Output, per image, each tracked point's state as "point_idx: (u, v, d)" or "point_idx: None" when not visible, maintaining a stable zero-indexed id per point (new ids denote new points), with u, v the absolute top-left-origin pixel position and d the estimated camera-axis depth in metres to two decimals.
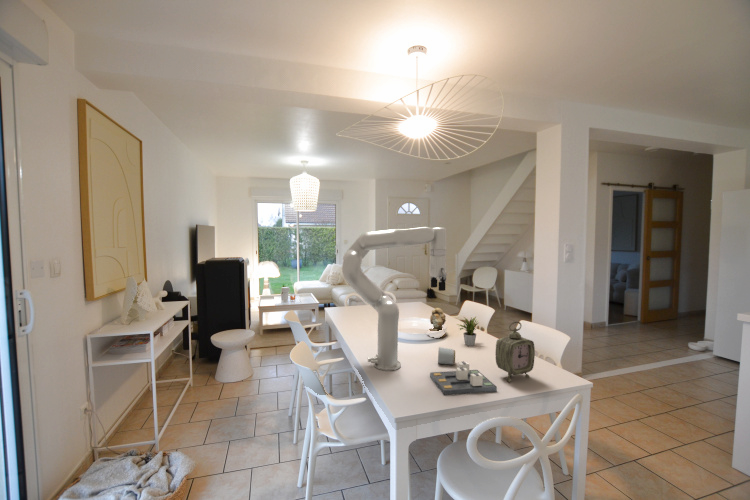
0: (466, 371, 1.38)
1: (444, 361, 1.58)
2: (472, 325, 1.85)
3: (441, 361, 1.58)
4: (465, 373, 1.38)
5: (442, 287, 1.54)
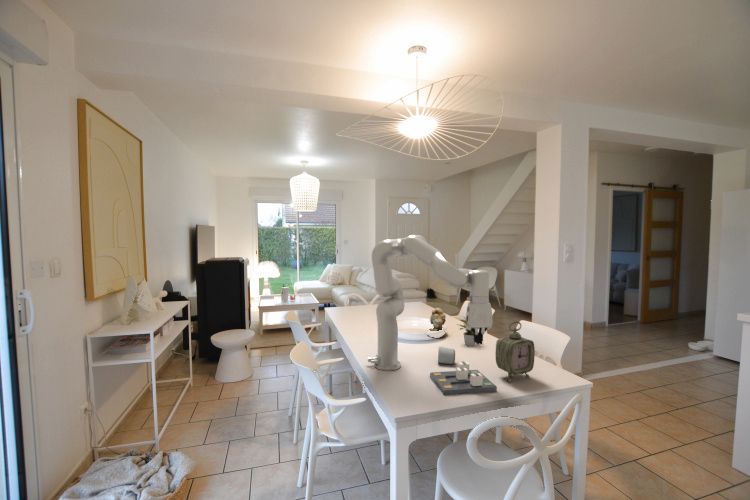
0: (466, 371, 1.38)
1: (444, 361, 1.58)
2: None
3: (441, 361, 1.59)
4: (465, 373, 1.38)
5: None
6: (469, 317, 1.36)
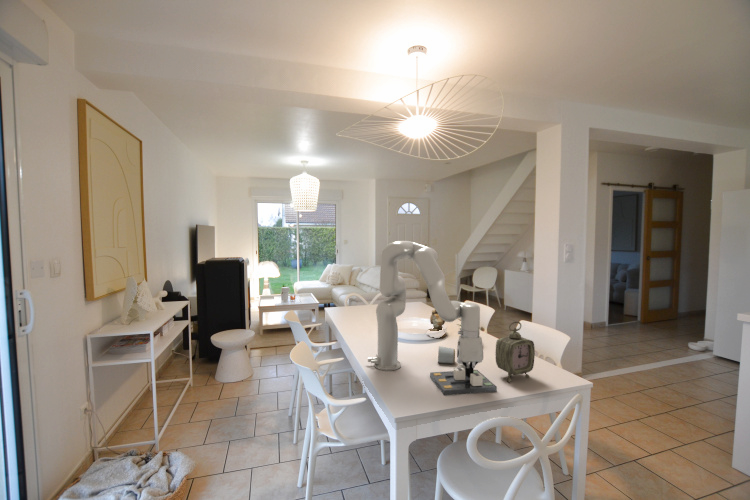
0: (464, 371, 1.37)
1: (444, 360, 1.59)
2: None
3: (441, 360, 1.59)
4: (463, 373, 1.37)
5: None
6: (460, 351, 1.36)
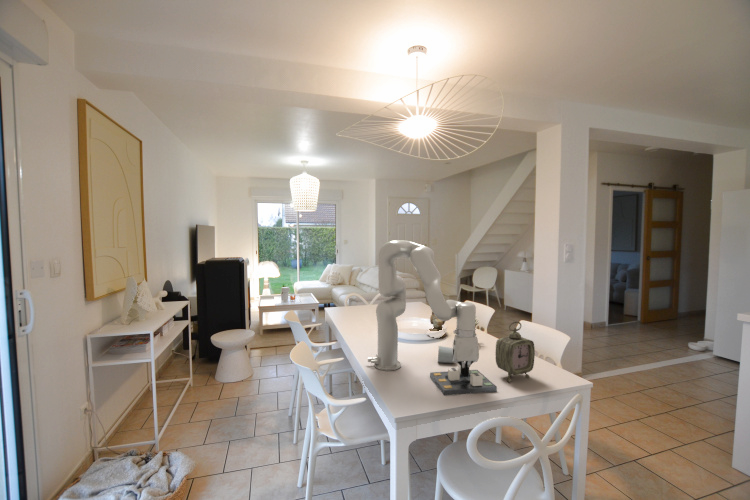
0: (458, 371, 1.37)
1: (444, 360, 1.60)
2: None
3: (441, 360, 1.60)
4: (457, 374, 1.37)
5: None
6: (455, 351, 1.36)
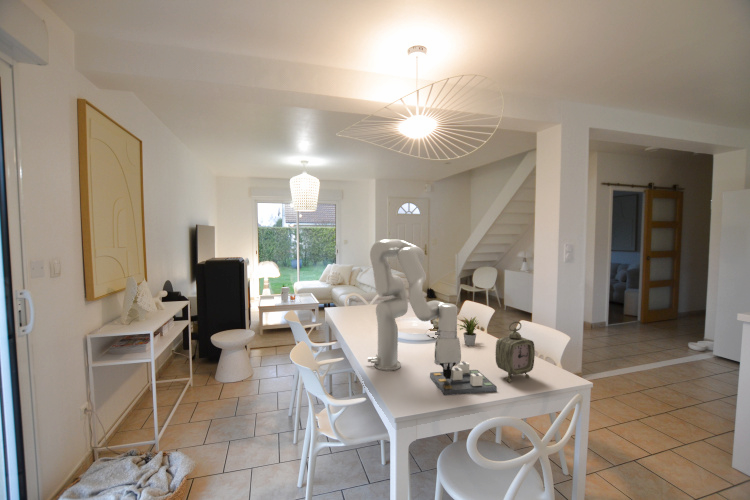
0: (461, 371, 1.37)
1: None
2: (472, 325, 1.85)
3: None
4: (460, 373, 1.37)
5: None
6: (437, 352, 1.35)
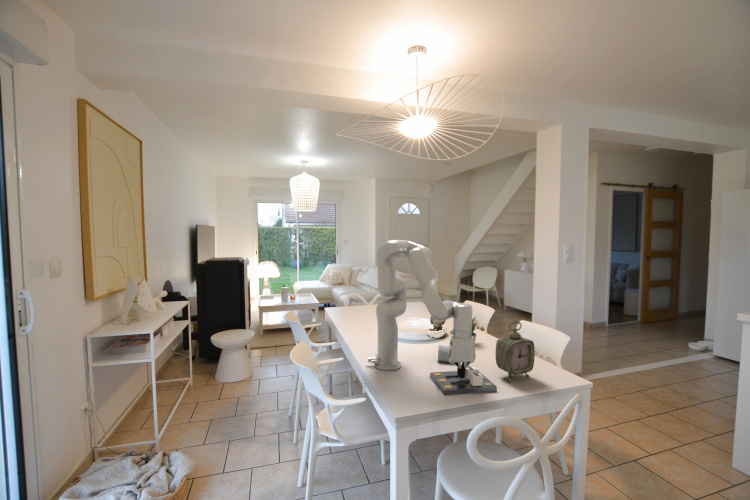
0: (475, 370, 1.38)
1: (444, 358, 1.61)
2: (472, 325, 1.85)
3: (441, 358, 1.61)
4: (474, 372, 1.38)
5: None
6: (452, 351, 1.36)
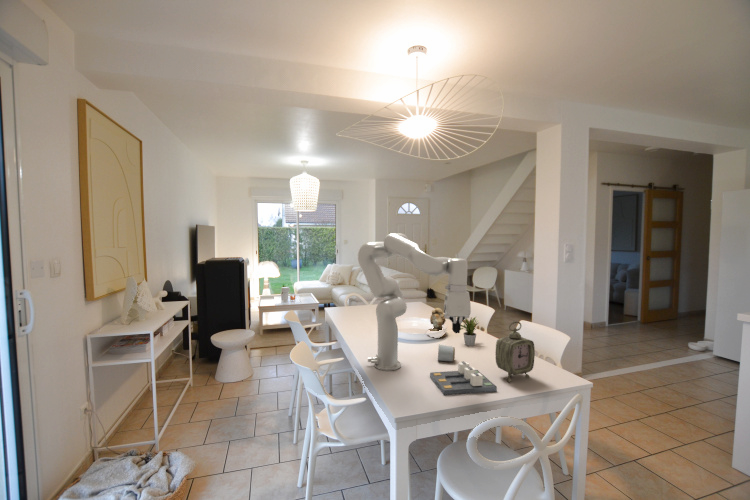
0: (474, 371, 1.38)
1: (444, 358, 1.62)
2: (472, 325, 1.85)
3: (441, 358, 1.62)
4: (473, 372, 1.38)
5: None
6: (447, 306, 1.35)
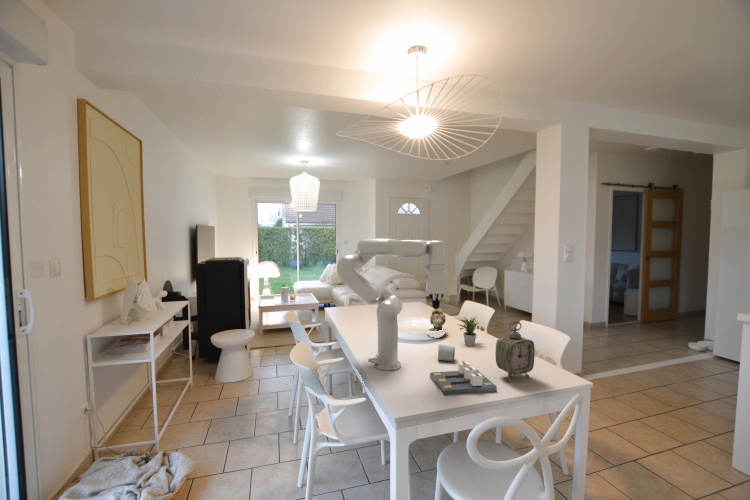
0: (474, 371, 1.38)
1: (444, 357, 1.62)
2: (472, 325, 1.85)
3: (441, 357, 1.63)
4: (473, 372, 1.38)
5: None
6: (426, 284, 1.47)
